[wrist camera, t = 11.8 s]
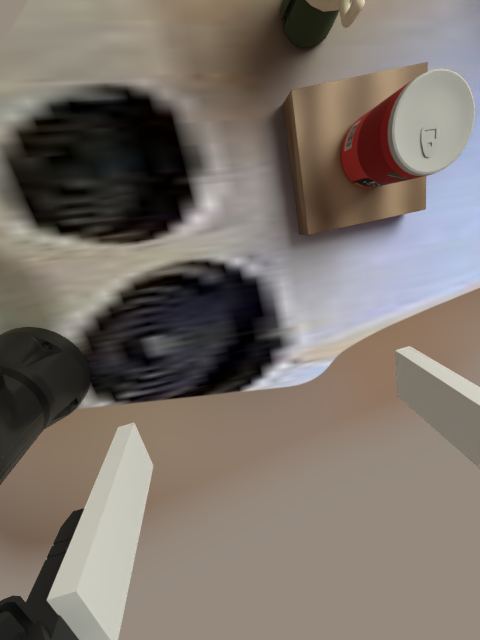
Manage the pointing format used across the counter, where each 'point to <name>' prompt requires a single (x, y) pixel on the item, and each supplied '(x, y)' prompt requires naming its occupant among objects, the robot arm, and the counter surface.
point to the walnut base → (325, 149)
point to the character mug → (316, 18)
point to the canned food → (410, 131)
